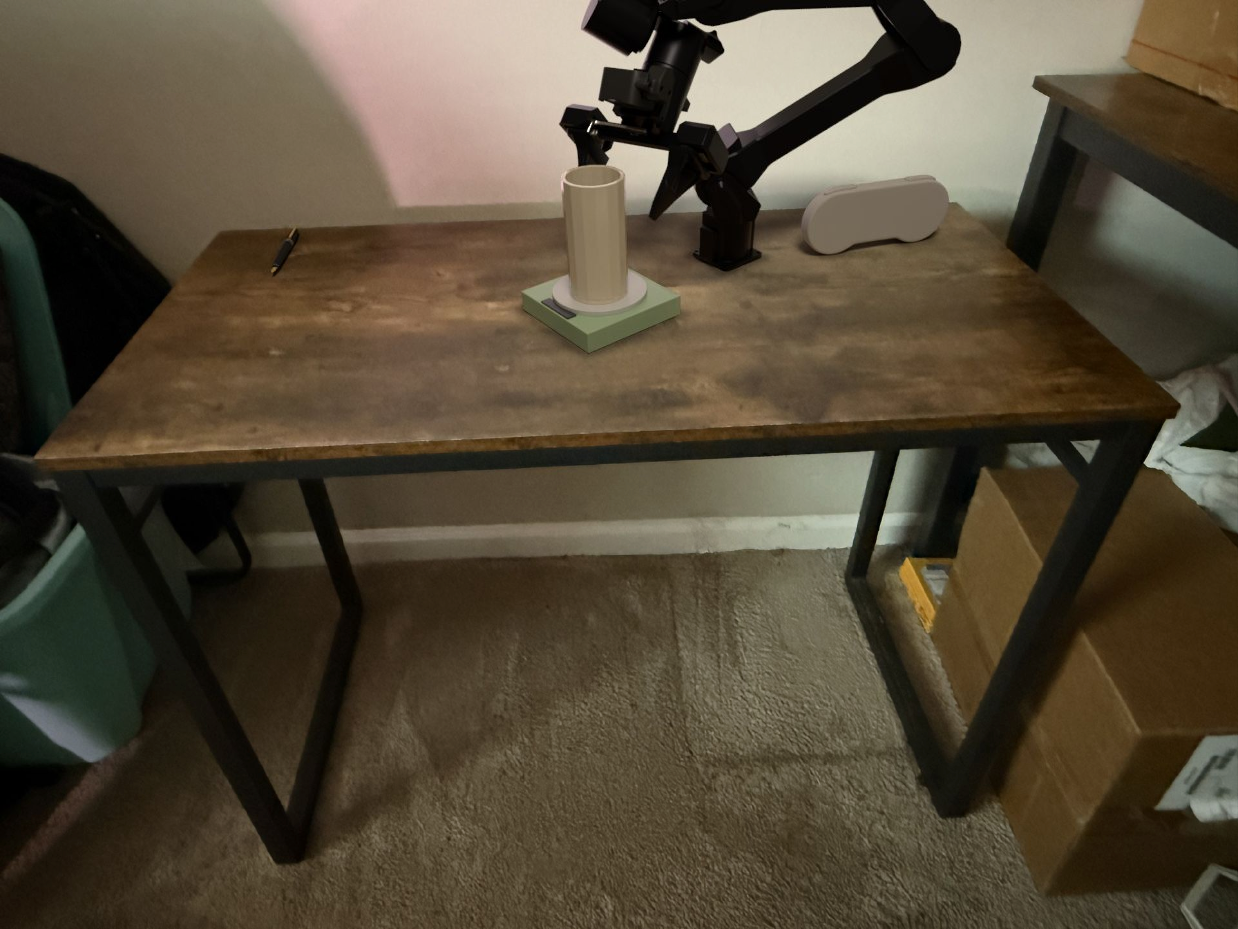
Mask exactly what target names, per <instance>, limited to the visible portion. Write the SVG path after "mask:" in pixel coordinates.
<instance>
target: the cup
mask: <svg viewBox="0 0 1238 929" xmlns="http://www.w3.org/2000/svg"><path fill="white" fill-rule="evenodd" d="M560 188H561V200H562V211H563V212H562V213H563V224H564V237H565V250H566V261H567V262H566V263H567V274H568V277H569V288H570V294H571V296H572V297H573V298H574V299H575V300H576V301H578V302H581V303H584V304H590V305H604V304H610V303H614V302H616V301H619V300H621V299H622V298H624V297H625V296H626V294H627V292H628V268H629V263H628V261H629V260H628V259H629V258H628V228H627V195H626V194H627V192H626V173H625V172H624V171H623V170H622V169H621V168H618V167H616V166H611V165H607V164H606V165H587V166H580V167H578V166H575V167H573V168H570V169H567V170H566V171H565V172H563V173H562V175H561V176H560Z"/></svg>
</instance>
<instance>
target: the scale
mask: <svg viewBox="0 0 1238 929" xmlns="http://www.w3.org/2000/svg"><path fill="white" fill-rule="evenodd" d="M520 294H521V301H522V309H523V311H525V312H526V313H528V314H529V315H531V316H532V317H534V318H535V319H537V320H538V321H540V322H541V323H543V324H544V325H546V326H547V327H549V328H550V329H552V330H553V331H554V332H556V333H558V334H559V335H560V336H562V337H563V338H565V339H566V340H568V341H570V342H571V343H573V344H574V345H575V346H577V347H578V348H580V349H581V350H583V352H586V353H587V354H591V353H593V352H595V351H598V350H600V349H602V348H605V347H607V346H609V345H612V344H614V343H616V342H619V341H621V340H624V339H626V338H628V337H630V336H633V335H636V334H637V333H640V332H642V331H645V330H647V329H649V328H651V327H653V326H656V325H658V324H661V323H663V322H665V321H667V320H670V319H672V318H674V317H677V316H679V315H680V314H681V295H680V294H679V293H677V292H674V291H672V290H671V289H669V288H667V287H665V286H663V285H661V284H660V283H658V282H655V281H654V280H652V279H650V278H648V277H646V276H645V275H642V274H641V273H639V272H637V271H635V270H633V269H631V268H630V267H628V292H627V294H626V296H625V297H624V298H622V299H621V300H619V301H616V302H614V303H610V304H604V305H590V304H584V303H581V302H578V301H576V300H575V299H574V298H573V297H572V296H571V294H570V288H569V277H568V273H567V274H564V275H562V276H558V277H555V278H553V279H550V280H548V281H546V282H543V283H540V284H537V285H534V286H532V287H528V288H526V289H523V290H521V291H520Z"/></svg>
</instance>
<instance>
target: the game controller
mask: <svg viewBox="0 0 1238 929" xmlns="http://www.w3.org/2000/svg"><path fill="white" fill-rule="evenodd" d="M949 204H950V197H949V192H948V190H947V188H946V187H945V186H944V184H942V183H941V182H940V181H938V180H936V177H935V176H932V175H931V174H917V175H916V174H915V175H909V176H908V175H907V176H905V177H900V178H892V179H885V180H878V181H870V182H862V183H856V184H855V183H850V184H843V185H837V186H836V185H835V186H832V187H829V188H826V189H825V190H823V191H821V192H820V193H818V194H817V195H816V196H814V198H813V199H812V200H811V201H810V202H809V203H808V205H807V206H806V208H805V210H804V212H803V215H802V218H801V222H800V223H801V224H800V230H801V234H802V237H803V239H804V241H805V242H806V244H807V245H808V246H810V247H811V248H812V249H813V250H814V251H816V252H817V253H819V254H822V255H835V254H836V255H837V254H839V253H842V252H844V251H846V250H847V249H848V248H850V247H852V246H853V245H857V244H858V245H859V244H863V243H869V242H877V241H884V240H889V239H890V240H891V239H897V240H899V241H902V242H905V243H915V242H916V243H917V242H919V241H922V240H924V239H926V238H928V237H929V236H931V235H932V234H933V233H934V232H936V230H937V229H938V228H939V227H940V226H941V224H942V223H943V221H944V220H945V218H946V216H947V213H948V210H949Z"/></svg>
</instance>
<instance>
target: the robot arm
mask: <svg viewBox="0 0 1238 929" xmlns="http://www.w3.org/2000/svg"><path fill="white" fill-rule="evenodd" d="M849 8H850V9H851V8H852V9H853V8H871V10H872V12H873V14H874V16H875V17H876V19H877V21H878V23H879V24H880V26H881V27H882V29H883V30H884V31H885V32H884V33H883V34H882V35H881V36H879V38H878V39H877V40H876V41H875V43H874V44H873V46H872V47H871V48H870V49H869V51H868V52H867V53H866V55H865V56H863V58H862V59H860V60H859V61H858V62H856V63H854V64H853V65H851V66H850V67H848V68H847V69H845V70H843V71H842V72H840V73H838V74H837V75H835V76H833V77H832V78H831V79H829V80H827V81H826V82H823V83H822V84H821V85H819V86H818V87H816V88H815V89H813V90H812V91H810V92H808V93H807V94H805V95H803V96H802V97H800V98H798V99H797V100H795V101H794V102H792V103H791V104H789V105H788V106H786V107H784V108H783V109H781V110H779V111H778V112H777V113H775V114H773V115H772V116H770V117H769V118H767V119H765V120H763V121H762V122H761V123H759V124H757V125H756V126H754V127H752V128H750V129H746V130H741V131H737V132H736V130H735V128H734V127H733V125H732V123H730V122H728V123H726V124H724V125H722V127H720V128H719V129H717V127H716V126H715V124H710V123H704V122H703V123H702V122H695V121H690V120H689V121H688V120H685V121H682V122H681V123H679V124H678V121H679V119H680V115H681V113H682V112H683V113H689V112H688V111H689V109H690V107H691V102H690V100H689V99H688V95H689V93H690V90H691V87H692V84H693V82H694V80H695V77H696V73H697V71H698V68H699V66H700V63H701V61H702V62H703V63H705V64H707V65H710V64H712V63H713V62H715V60H717V59H719V58H720V57H721V56H722V55H723V54H724V53H725V47H724V45H723V43H722V41H721V40H720V39H719V35H718V31H717V30H716V29H713V30H711V31H705V30H704V29H702V28H701V27H699V26H697V25H695V24H694V23H692V22H691V21H689V20H695V21H696V22H697V23H699V24H700V25H703V26H706V27H718V26H723V25H728V24H731V23H735V22H740V21H744V20H747V19H750V18H752V17H754V16H757V15H760V14H763V13H767V12H771V11H791V10H793V11H795V10H821V9H822V10H823V9H849ZM580 31H582V32H584V33H586V34H587V35H589V36H591V38H593V39H595V40H597V41H598V42H601V43H602V44H604V45H606V46H607V47H609V48H611V49H612V50H614V51H615V52H617V53H619V54H621V55H622V56H624V57H626V58H627V57H629V56H631V54H632V53H633V54H634V55H637V54H641V53H642V52H643V51H644V50H645V48H646V47H647V45H648V44H649V42H650V40H651V42H650V44H649V47H648V50H647V52H646V54H645V58H644V60H643V63H642V66H641V68H635V67H634V68H633V69H627V68H620V67H611V66H604V67H603V68H602V69H603V70H602V75H601V80H600V86H599V91H598V98H597V100H598V101H599V102H601V103H604V102H607V103H609V104H612V105H613V106H612V109H611V111H612V112H613V114H614V115H615V117H617V118H620V119H621V121H620V122H614V121H609V120H608V119H607V118H606V116H605V115H604V113H603V112H602V111H601V109H600V108H599V107H597V106H590V105H584V104H577V103H572V104H569V105H566V106H565V108H564V110H563V112H562V115H561V117H560V120H559V122H558V126H560V128H561V129H562V130H563V131H564V132H565V133H566V135H567V137H568V138H569V140H571V141H572V143H573V144H574V145H575V149H576V154H577V155H576V156H577V167H580V166H587V165H606V166H607V164H608V162H609V160H610V157H609V156H608V155H607V153H608V152H609V151H610V150H612V148H613V145H614V143H618V144H624V145H631V146H637V147H642V148H648V149H653V150H659V151H666V152H668V154H667V164H666V168H665V171H664V173H663V175H662V178H661V180H660V183H659V185H658V188H657V190H656V193H655V195H654V198H653V199H652V202H651V206H650V209H649V213H648V218H649V220H651V221H653V222H655V221H657V220H658V219H659V218H660V217H661V216H662V215H663V214H664V213H665V212H666V211H667V210H668V209H669V208H670V207H671V206H672V205H673V204H674V203H675V202H676V201H677V200H678V199H680V197H681V196H683V195H684V194H685V193H687V192H688V191H689V190H690V189H691V188H693V189H694V191H695V193H696V196H697V198H698V199H699V201H700V202H701V203H702V204H704V205H705V206H706V207H705V208H706V210H702V212H701V213H702V214H701V215H702V216H701V225H700V226H699V248H696V249H693V250H692V256H694V257H696V258H698V259H700V260H702V261H704V262H706V263H708V264H711V265H712V266H714V267H717V268H719V269H721V270H723V271H730V270H733V269H735V268H737V267H740V266H742V265H745V264H747V263H749V262H752V261H754V260H757V259H760V258H761V257H762V256H763V252H762V251H760V250H758V249H756V248H754V243H755V242H754V241H755V240H754V239H755V228H756V219H757V218H758V215H759V212H760V210H761V208H762V204H761V202H760V200H759V199H758V197H757V194H755V192H754V190H753V187H754V186H755V185H756V184H757V182H758V181H759V179H760V178H761V177H762V176H763V175H764V173H765V172H766V171H767V169H769V167H770V166H771V165H773V163H775V162H777V161H778V160H780V159H781V158H783V157H784V156H786V155H789V153H791V152H793V151H794V150H797V149H798V148H800V147H801V146H803V145H804V144H806V143H808V142H809V141H811V140H812V139H815V138H816V137H818V136H819V135H821V134H822V133H824V132H826V131H827V130H830V129H831V128H832V127H834V126H836V125H838V124H840V122H842V121H843V120H846V119H848V117H850V116H852V115H853V114H855V113H857V112H859V111H860V110H862V109H863V108H866V107H867V106H869V105H871V103H874V102H875V101H877V100H878V99H880V98H881V97H883V96H887V95H891V94H896V93H900V92H905V91H910V90H914V89H917V88H919V87H922V86H923V85H926V84H929V83H931V82H933V81H936V80H939V79H940V78H942V77H945V76H946V75H947V74H948V73H950V72H951V71H952V70H953V69H954V68H955V66H956V65H957V61H958V58H959V57H960V54H961V51H962V50H961V49H962V36H961V34H960V32H959V30H958V27H956V26H954V24H952V23H951V22H950V21H947V20H945V19H943V18H941V17H939V16H938V15H937V14H936V12H935V11H934V10H933V9H932V7H931V6H930V5H929V4H928V3H927V2H926V0H590V1H589V2H588V5H587V8H586V10H585V12H584V15H583V18H582V21H581V25H580ZM653 33H654V34H653ZM652 36H653V37H652ZM651 38H652V39H651ZM677 124H678V126H677ZM676 126H677V129H676ZM675 129H676V132H675Z"/></svg>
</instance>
